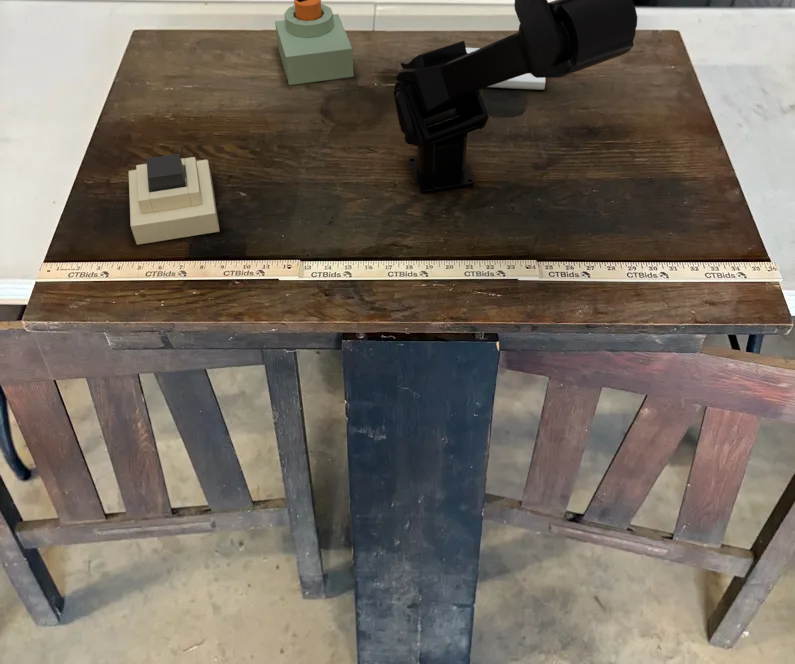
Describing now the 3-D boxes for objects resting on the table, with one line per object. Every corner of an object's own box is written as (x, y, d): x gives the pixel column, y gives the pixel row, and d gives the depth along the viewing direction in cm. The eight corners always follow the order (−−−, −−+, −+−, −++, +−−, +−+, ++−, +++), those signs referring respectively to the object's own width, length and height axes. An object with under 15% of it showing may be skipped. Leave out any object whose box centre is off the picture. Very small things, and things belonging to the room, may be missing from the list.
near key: (185, 188, 87) (181, 172, 85) (151, 193, 86) (147, 177, 85) (183, 168, 89) (179, 153, 88) (150, 173, 88) (146, 158, 87)
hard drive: (454, 56, 113) (542, 60, 112) (451, 87, 108) (544, 91, 107) (455, 45, 112) (544, 49, 111) (452, 76, 107) (545, 80, 106)
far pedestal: (353, 76, 110) (351, 35, 105) (288, 85, 108) (284, 44, 104) (338, 39, 117) (336, -2, 112) (277, 46, 115) (272, 6, 111)
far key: (324, 20, 109) (322, 3, 107) (297, 23, 108) (296, 6, 106) (319, 8, 111) (318, -9, 109) (293, 11, 110) (292, -6, 109)
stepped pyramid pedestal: (219, 231, 88) (212, 199, 85) (136, 245, 87) (126, 213, 83) (211, 177, 95) (204, 145, 91) (134, 189, 93) (124, 157, 90)
